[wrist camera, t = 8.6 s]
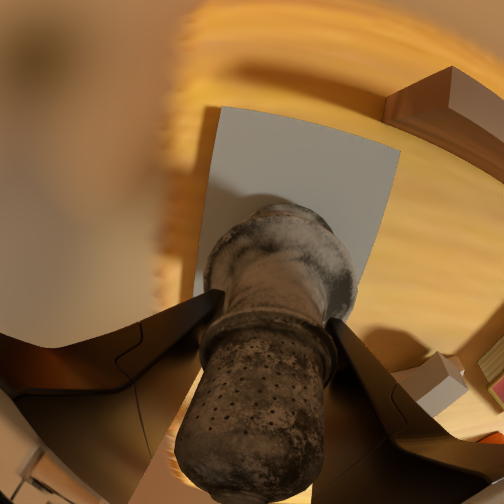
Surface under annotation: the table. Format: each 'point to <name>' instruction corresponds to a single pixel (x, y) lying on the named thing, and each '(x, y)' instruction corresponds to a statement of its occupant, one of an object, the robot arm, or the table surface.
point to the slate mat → (295, 179)
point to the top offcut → (435, 384)
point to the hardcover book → (494, 371)
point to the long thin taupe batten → (453, 117)
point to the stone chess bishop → (267, 357)
